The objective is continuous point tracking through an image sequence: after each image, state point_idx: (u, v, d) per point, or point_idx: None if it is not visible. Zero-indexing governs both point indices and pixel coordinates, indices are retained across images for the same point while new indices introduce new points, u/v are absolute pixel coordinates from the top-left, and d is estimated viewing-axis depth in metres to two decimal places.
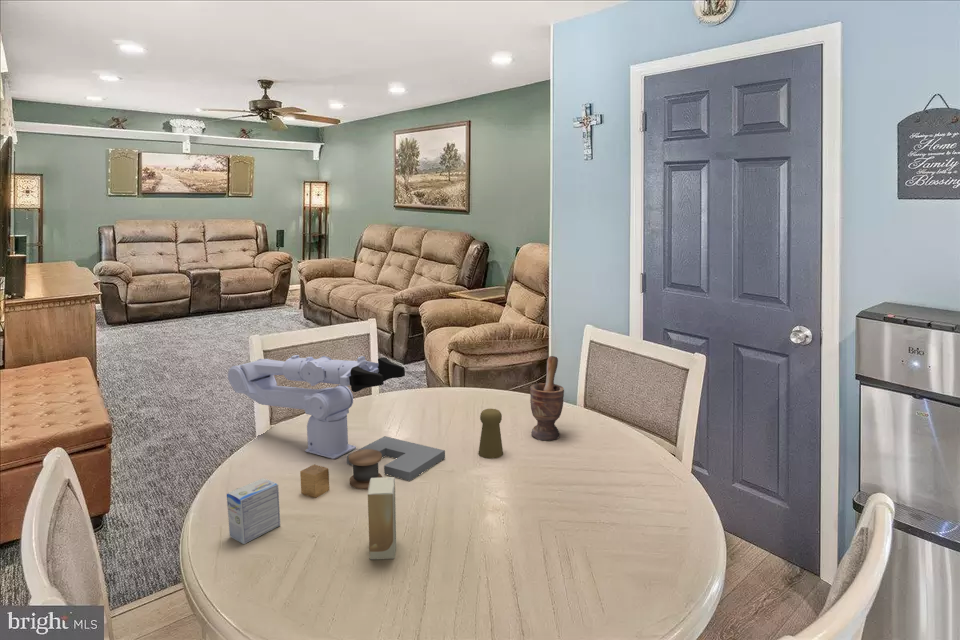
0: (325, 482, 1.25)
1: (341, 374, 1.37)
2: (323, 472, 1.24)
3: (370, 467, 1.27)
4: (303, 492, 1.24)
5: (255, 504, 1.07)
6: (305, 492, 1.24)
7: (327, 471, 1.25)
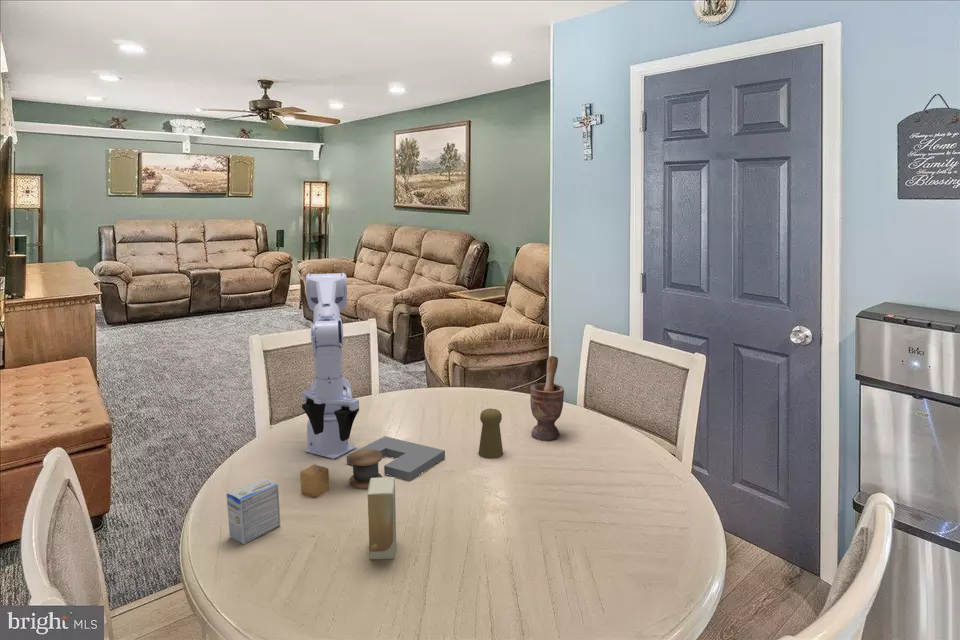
0: (325, 482, 1.25)
1: None
2: (323, 472, 1.24)
3: (370, 467, 1.27)
4: (303, 492, 1.24)
5: (255, 504, 1.07)
6: (305, 492, 1.24)
7: (327, 471, 1.25)
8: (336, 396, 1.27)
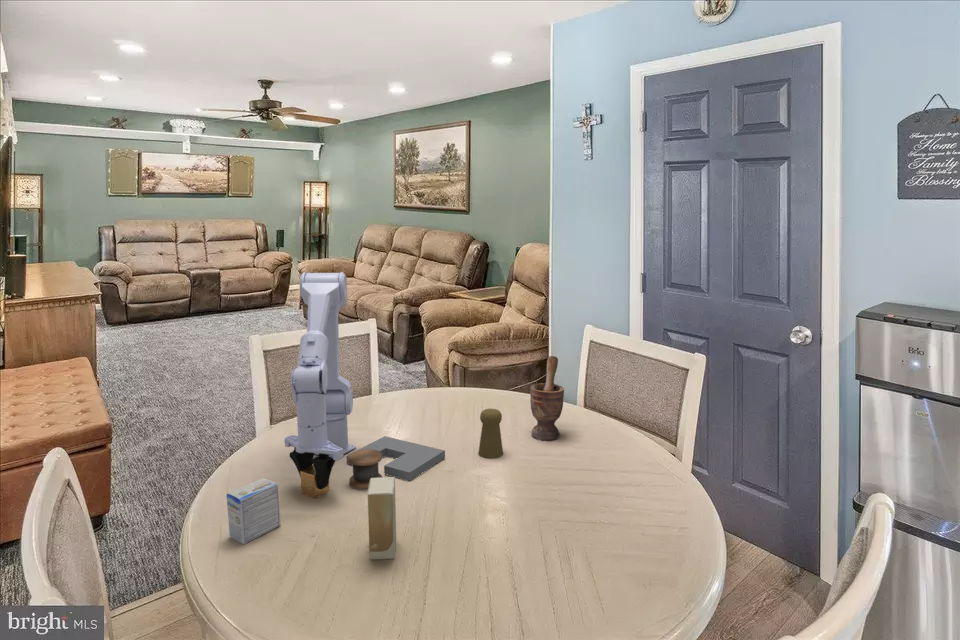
0: None
1: None
2: None
3: (370, 467, 1.27)
4: (303, 492, 1.24)
5: (255, 504, 1.07)
6: (305, 492, 1.24)
7: None
8: (319, 444, 1.21)
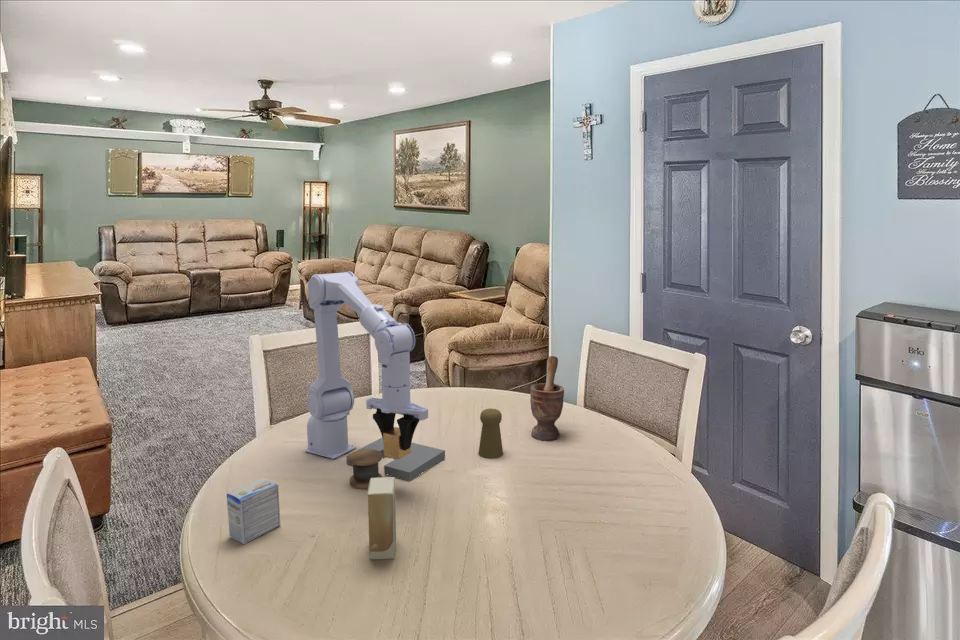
0: None
1: None
2: None
3: (370, 467, 1.27)
4: (386, 454, 1.25)
5: (255, 504, 1.07)
6: (388, 453, 1.24)
7: None
8: (404, 405, 1.22)
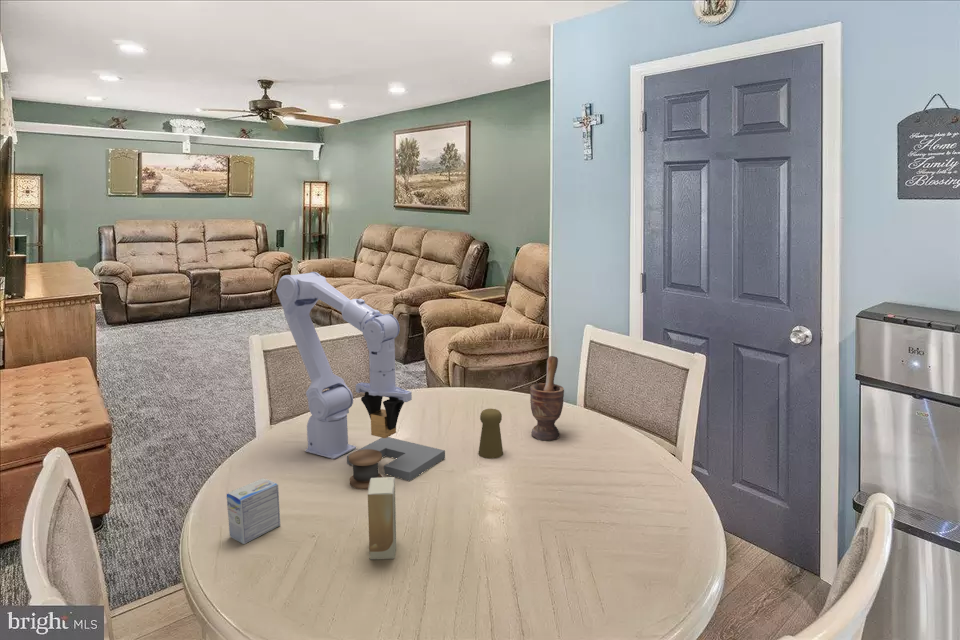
0: None
1: None
2: None
3: (370, 467, 1.27)
4: (373, 433, 1.36)
5: (255, 504, 1.07)
6: (375, 433, 1.36)
7: None
8: (390, 388, 1.33)
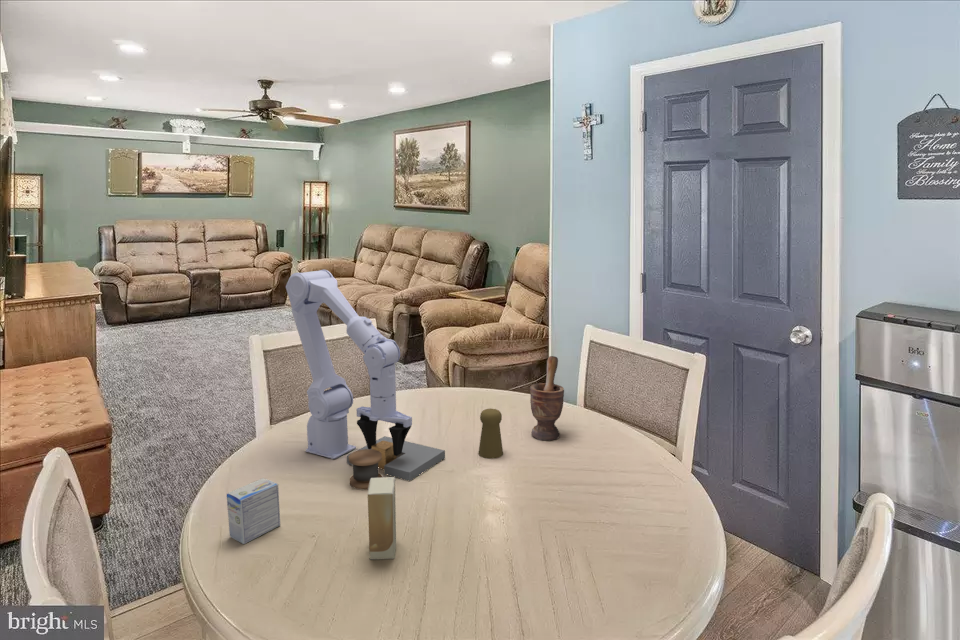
0: (393, 456, 1.38)
1: None
2: (392, 446, 1.37)
3: (370, 467, 1.27)
4: None
5: (255, 504, 1.07)
6: None
7: None
8: (390, 413, 1.34)
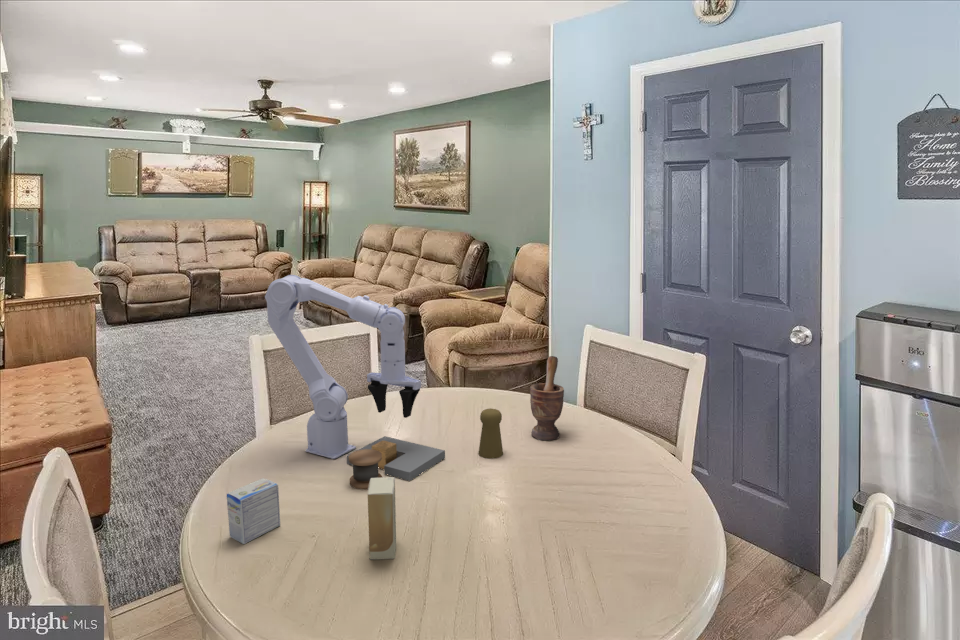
0: (393, 456, 1.38)
1: None
2: (392, 446, 1.37)
3: (370, 467, 1.27)
4: None
5: (255, 504, 1.07)
6: None
7: (395, 446, 1.38)
8: (400, 377, 1.42)
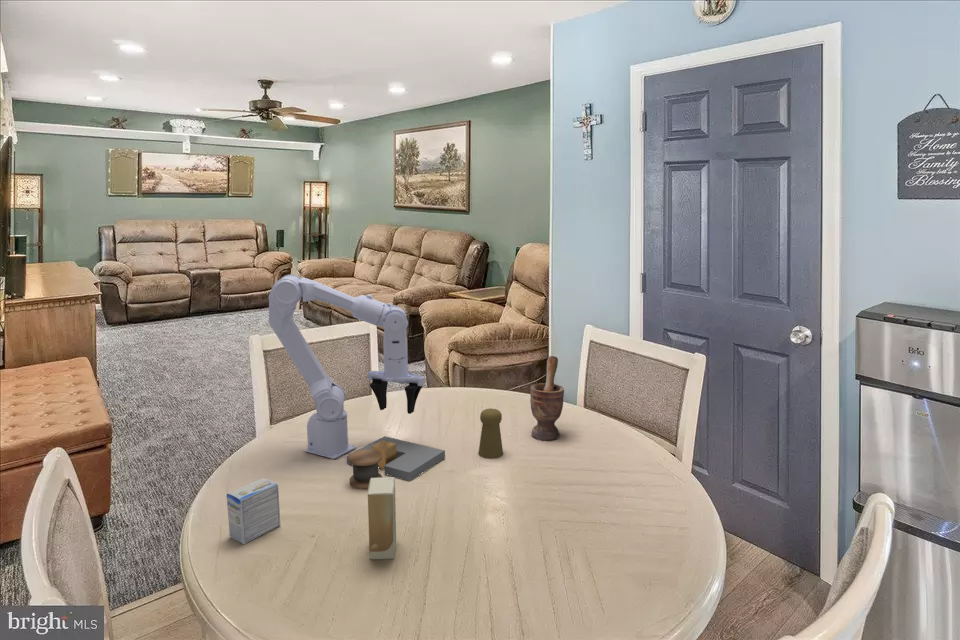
0: (393, 456, 1.38)
1: None
2: (392, 446, 1.37)
3: (370, 467, 1.27)
4: None
5: (255, 504, 1.07)
6: None
7: (395, 446, 1.39)
8: (404, 374, 1.44)
